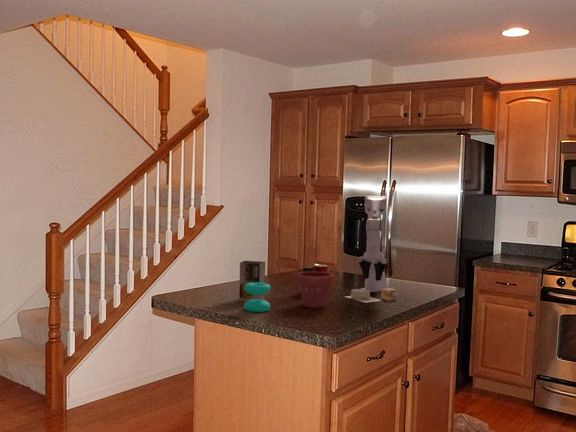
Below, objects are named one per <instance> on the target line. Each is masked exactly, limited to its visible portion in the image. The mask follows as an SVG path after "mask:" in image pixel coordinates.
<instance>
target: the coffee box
mask: <svg viewBox="0 0 576 432" xmlns="http://www.w3.org/2000/svg"><path fill="white" fill-rule="evenodd" d="M265 281H266V261H259V260H258V261H257V260H242V261H241V262H239V297H238V299H239V300H240V301H239V300H238V301H239V302H247V301H249V300H254V299H260V300H265V294H262V295H254V294H250V293H247V292H246V291H245V285H246V284H248V283H255V282H259V283H266V282H265Z"/></svg>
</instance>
